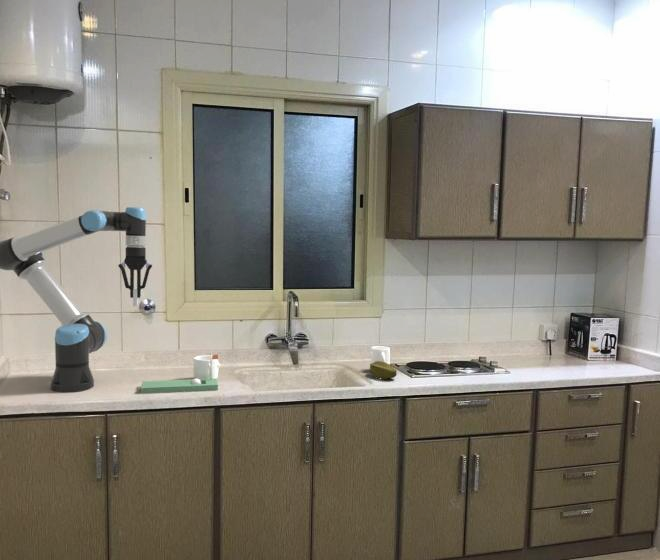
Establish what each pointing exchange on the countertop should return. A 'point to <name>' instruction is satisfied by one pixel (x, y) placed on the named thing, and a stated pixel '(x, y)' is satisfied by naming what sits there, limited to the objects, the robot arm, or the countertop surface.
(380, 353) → the mug
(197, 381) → the ball
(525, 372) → the countertop surface
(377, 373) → the fruit
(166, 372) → the countertop surface
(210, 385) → the green
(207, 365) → the mug
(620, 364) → the countertop surface
